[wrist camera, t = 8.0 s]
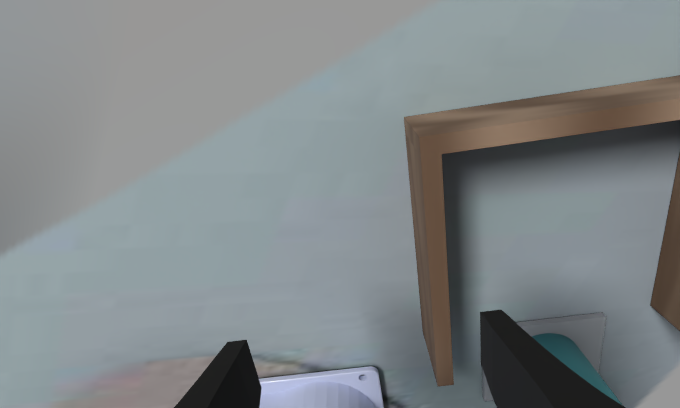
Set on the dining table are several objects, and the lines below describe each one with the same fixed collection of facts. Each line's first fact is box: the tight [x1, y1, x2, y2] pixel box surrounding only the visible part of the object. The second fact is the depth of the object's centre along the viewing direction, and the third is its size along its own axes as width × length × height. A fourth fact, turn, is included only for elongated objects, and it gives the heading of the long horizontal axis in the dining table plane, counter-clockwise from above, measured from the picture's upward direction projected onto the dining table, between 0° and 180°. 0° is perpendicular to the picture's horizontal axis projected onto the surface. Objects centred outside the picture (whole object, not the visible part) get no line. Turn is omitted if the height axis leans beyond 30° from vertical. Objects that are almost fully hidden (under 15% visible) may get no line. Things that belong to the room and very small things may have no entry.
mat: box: [482, 312, 606, 401], centre depth 24 cm, size 7×6×1 cm
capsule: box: [532, 333, 623, 406], centre depth 21 cm, size 4×4×6 cm
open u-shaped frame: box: [404, 75, 680, 386], centre depth 19 cm, size 14×13×4 cm
